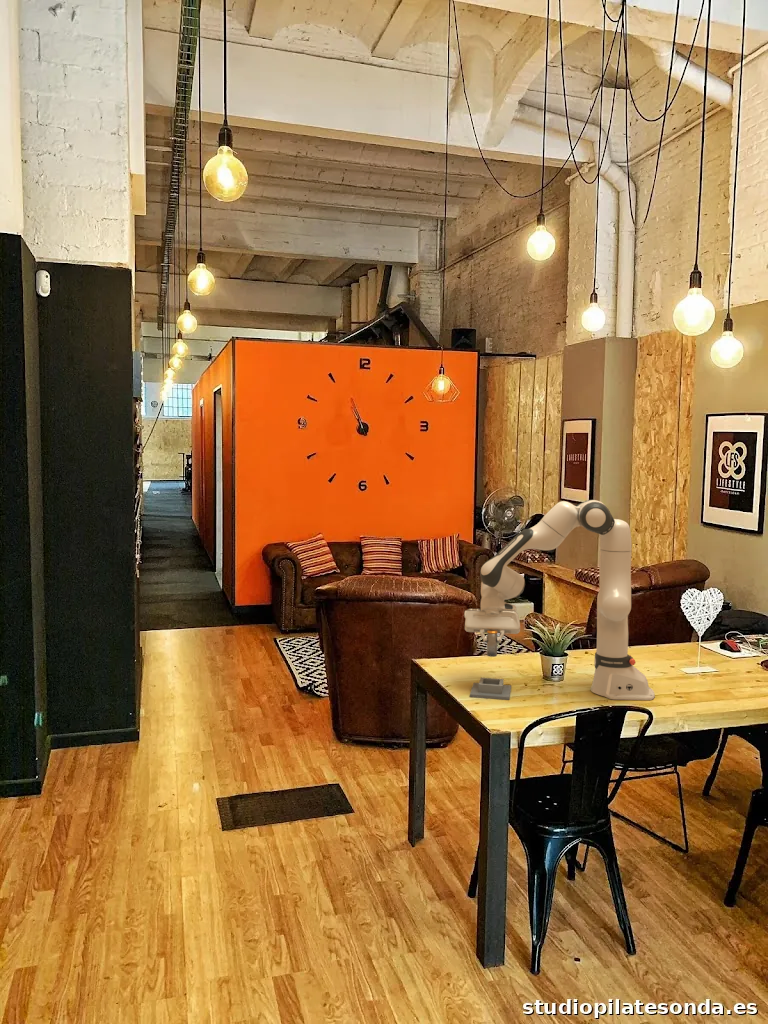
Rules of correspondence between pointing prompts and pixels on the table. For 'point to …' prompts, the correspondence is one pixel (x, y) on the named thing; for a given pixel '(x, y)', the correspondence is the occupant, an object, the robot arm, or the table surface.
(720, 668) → the table surface
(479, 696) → the grey square socket base
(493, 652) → the pivot pin
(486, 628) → the robot arm
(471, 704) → the table surface
